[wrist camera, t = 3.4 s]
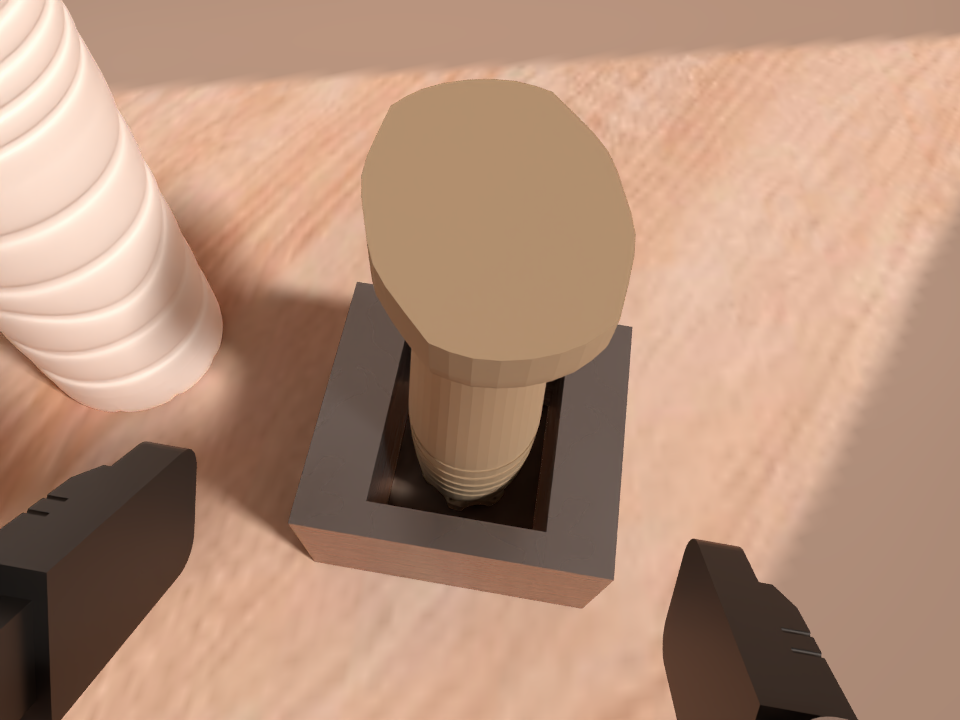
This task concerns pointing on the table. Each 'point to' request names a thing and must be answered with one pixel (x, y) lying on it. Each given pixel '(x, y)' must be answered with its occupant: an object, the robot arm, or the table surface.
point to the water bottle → (89, 231)
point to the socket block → (448, 539)
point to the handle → (492, 266)
